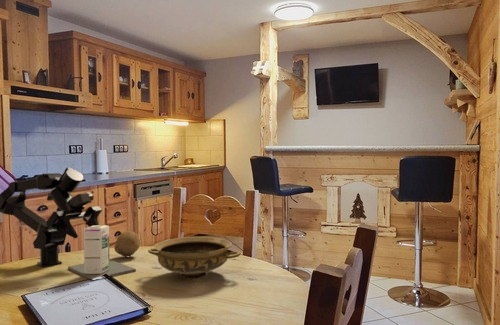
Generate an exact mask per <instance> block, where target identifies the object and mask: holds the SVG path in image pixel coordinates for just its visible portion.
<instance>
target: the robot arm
mask: <svg viewBox="0 0 500 325" xmlns="http://www.w3.org/2000/svg"><path fill="white" fill-rule="evenodd" d="M83 179H84V175H83V174H82V173H81V172H79V171H78V170H75V169H73V167H66V168H65V170H63V173H60V172H52V173H42V174H39V175H37V176H36V177H35V178H30V179H25V180H19V181H17V180H16V181H11V182H10V183H9V185H8V186H7V188H5V189H4V190H3V191H1V193H0V213H1V214H3V215H9V216H14V217H15V218H17V219H18V220H19V221H21V223H23V224H25V225H26V226H28V228H30V229H31V230H33V231H34V232H35V233H36V238H35V239H34V240H33V241H32V244H33V248H34V249H36V250H37V249H38V250H40V252H39V253H40V257H39V260H40V261H38V262H37V263H36V265H38V266H40V267H42V268H44V267H49V266H54V265H59V264H60V265H61V264H63V261H62V260H59V246H64V245H65V242H66V238H67V235H68V236H70V237H71V238H74V239H77V238H78V237H79V236H78V233H77V231H76V230H75V228H74V227H73V225H72V223H71V221H74V220H81V219H82V220H83V221H84V222H85V225H86V226H88V227H91V226H96V225H99V221H98V217H99V215H100V214H101V213H102V211H103V209H102V208H101V207H100V205H95V206H89V207H88V208H87V209H86V211H83V210H84V209H85V208H86V205H88V204H89V203H90V204H91V203H92V201H93V200H94V195H93V194H92V193H91V192H90V191H87V192H85V193H78V194H75V195H72V192H75V190H77V188H78V186H79V185H80V184H81V182H83ZM32 190H42V191H46V190H51V191H50V192H48V193H47V194H48V195H47V197H46V200H47V201H48V202H50V201H53V202H54V203H55V205H56V206H57V208H56V210H54V211H52V213H51V214H50V216H49V217H48V218H47V220H46V219H45V218H43V217H41V216H40V215H39V214H37V213H36V212H34V211H33V210H32V209H30V208H29V207H27V206H26V200H27V195H26V192H27V191H32ZM15 193H19V195H14V194H15Z"/></svg>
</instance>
